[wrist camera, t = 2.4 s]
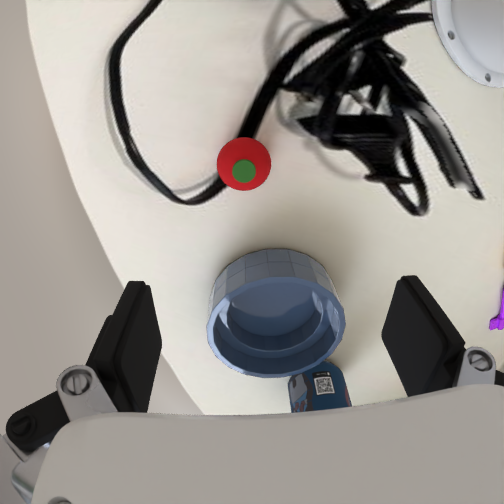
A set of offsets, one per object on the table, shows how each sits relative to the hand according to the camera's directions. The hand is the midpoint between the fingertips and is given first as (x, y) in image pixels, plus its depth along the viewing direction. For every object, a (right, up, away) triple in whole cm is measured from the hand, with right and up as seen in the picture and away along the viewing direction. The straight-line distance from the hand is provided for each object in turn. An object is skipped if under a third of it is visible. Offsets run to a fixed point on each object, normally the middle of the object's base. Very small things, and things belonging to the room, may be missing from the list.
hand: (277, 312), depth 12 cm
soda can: (+7, -13, +26) cm, 30 cm away
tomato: (-2, +10, +13) cm, 17 cm away
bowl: (+1, -3, +20) cm, 20 cm away
